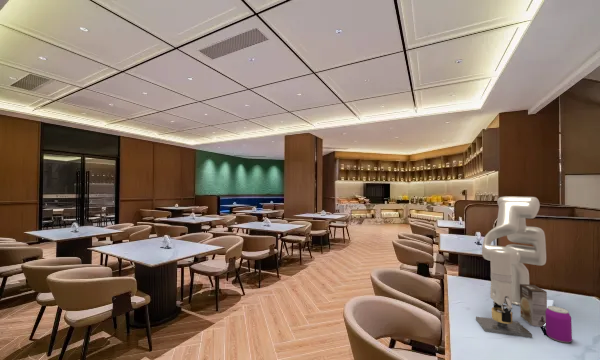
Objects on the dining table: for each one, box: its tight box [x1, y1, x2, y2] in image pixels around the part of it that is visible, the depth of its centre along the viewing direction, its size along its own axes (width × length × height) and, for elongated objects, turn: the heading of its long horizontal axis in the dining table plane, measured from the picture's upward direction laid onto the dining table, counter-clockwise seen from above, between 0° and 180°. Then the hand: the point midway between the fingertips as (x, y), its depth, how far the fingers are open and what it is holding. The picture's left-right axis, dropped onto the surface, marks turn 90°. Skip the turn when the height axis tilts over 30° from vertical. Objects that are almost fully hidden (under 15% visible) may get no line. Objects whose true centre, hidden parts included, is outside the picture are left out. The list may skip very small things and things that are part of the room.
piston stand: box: [475, 309, 533, 339], centre depth 116 cm, size 17×11×8 cm, turn 74°
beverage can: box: [545, 305, 573, 344], centre depth 109 cm, size 8×8×12 cm
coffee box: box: [519, 284, 548, 328], centre depth 123 cm, size 9×6×16 cm
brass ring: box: [491, 306, 514, 324], centre depth 117 cm, size 7×7×4 cm
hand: (502, 317), depth 116 cm, fingers closed on brass ring, 7 cm apart
